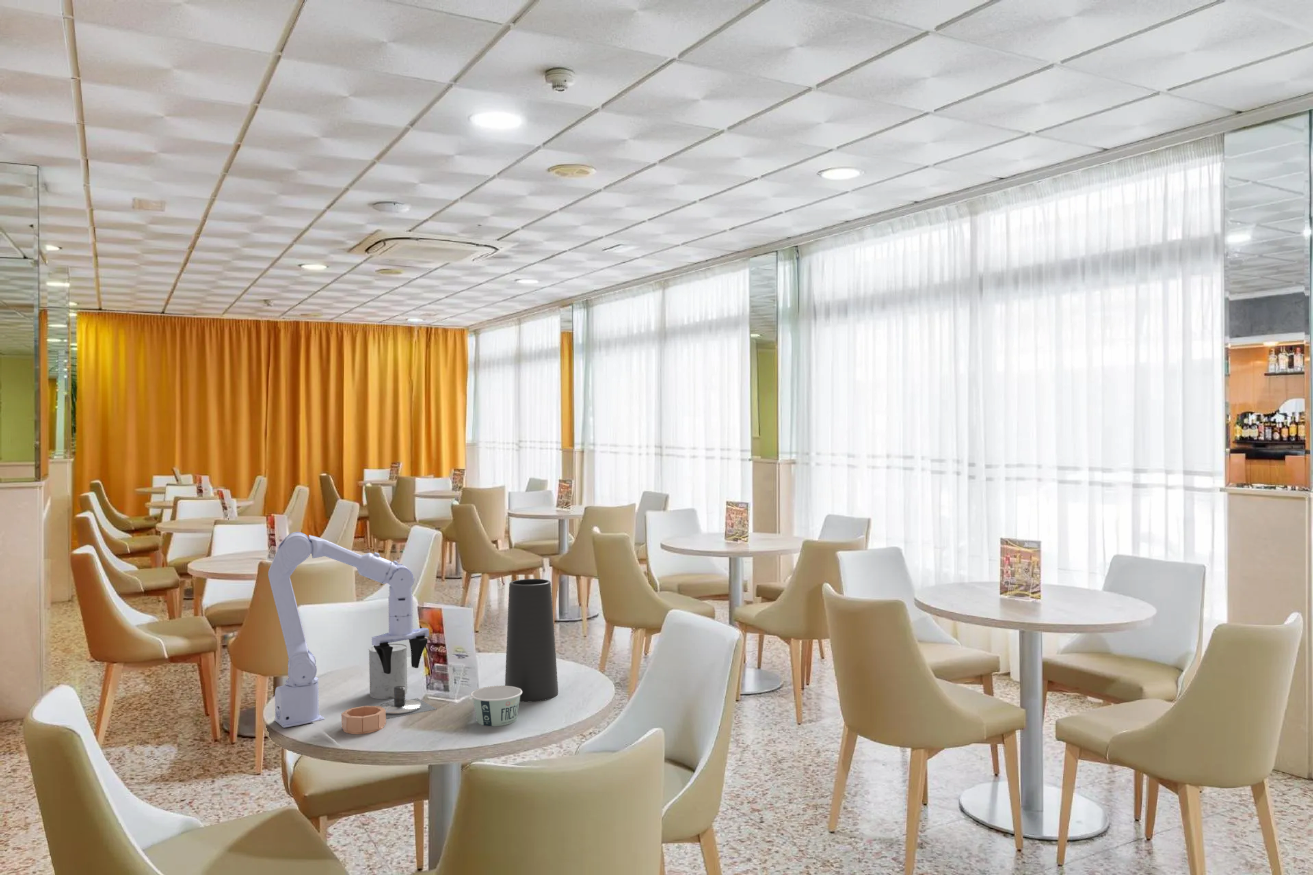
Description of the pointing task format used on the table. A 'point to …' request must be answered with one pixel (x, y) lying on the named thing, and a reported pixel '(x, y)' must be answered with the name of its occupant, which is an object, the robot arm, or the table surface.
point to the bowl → (363, 719)
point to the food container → (496, 705)
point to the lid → (400, 703)
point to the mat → (423, 708)
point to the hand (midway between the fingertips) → (401, 670)
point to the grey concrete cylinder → (384, 682)
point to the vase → (531, 640)
